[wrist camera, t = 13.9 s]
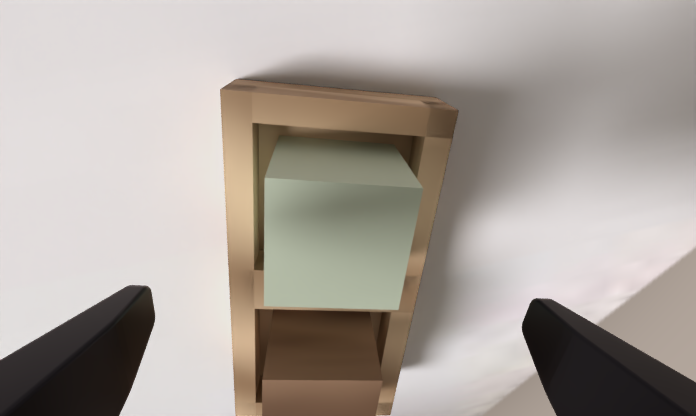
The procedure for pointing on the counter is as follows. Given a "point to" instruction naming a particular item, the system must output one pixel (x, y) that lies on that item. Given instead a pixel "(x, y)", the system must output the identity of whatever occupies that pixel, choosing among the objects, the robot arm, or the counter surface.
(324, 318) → the walnut cube
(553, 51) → the counter surface
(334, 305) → the sage cube
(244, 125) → the box
